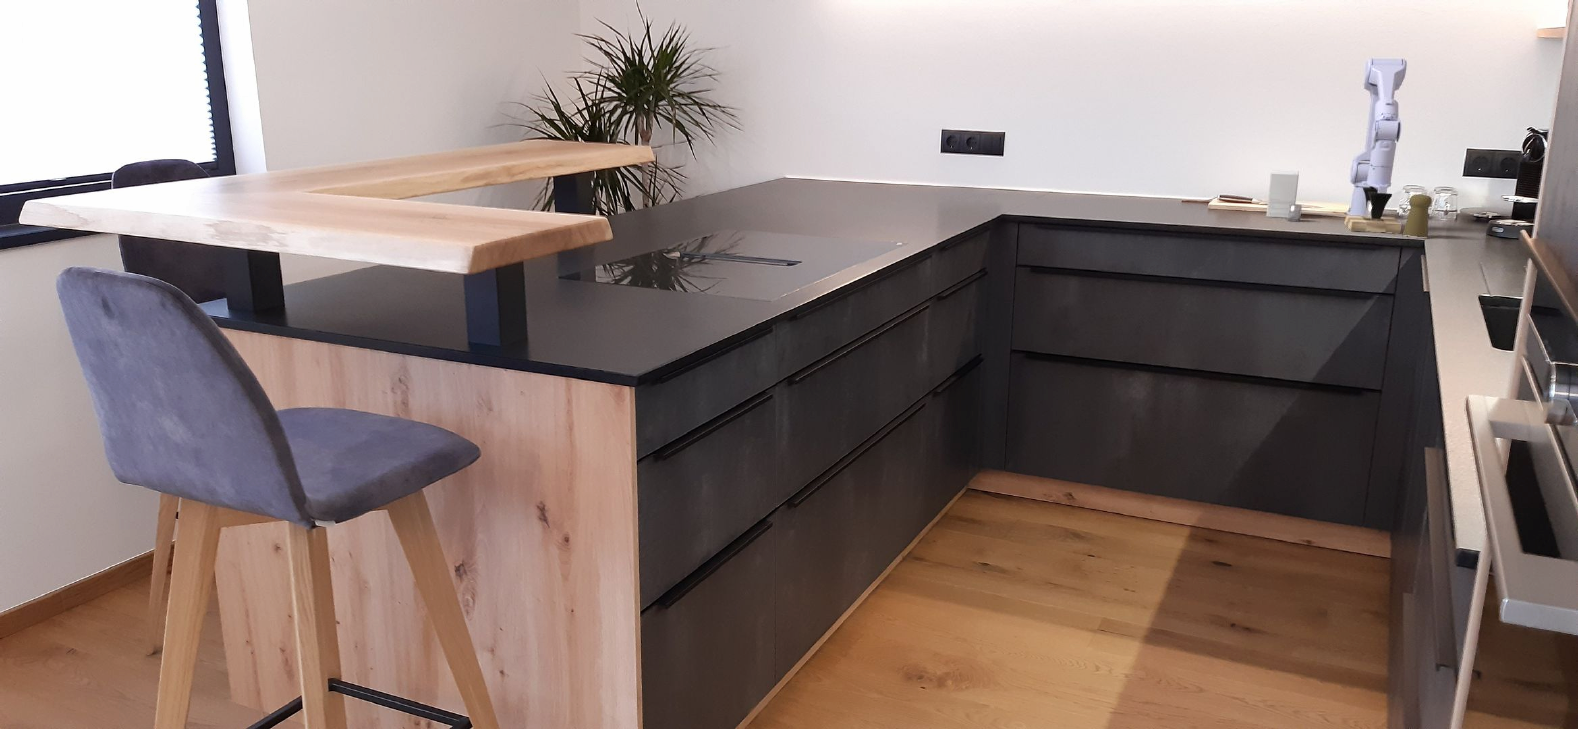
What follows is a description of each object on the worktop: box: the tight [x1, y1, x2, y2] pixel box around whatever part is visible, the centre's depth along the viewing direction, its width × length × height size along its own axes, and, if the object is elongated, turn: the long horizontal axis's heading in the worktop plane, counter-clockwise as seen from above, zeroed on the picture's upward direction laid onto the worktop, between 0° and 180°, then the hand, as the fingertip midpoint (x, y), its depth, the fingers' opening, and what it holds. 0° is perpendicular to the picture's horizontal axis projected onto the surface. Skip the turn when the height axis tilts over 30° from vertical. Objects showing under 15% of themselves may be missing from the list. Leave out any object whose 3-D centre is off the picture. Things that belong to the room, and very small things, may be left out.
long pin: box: [1365, 201, 1378, 221], centre depth 318 cm, size 3×3×8 cm
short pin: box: [1287, 203, 1303, 223], centre depth 330 cm, size 3×3×4 cm
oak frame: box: [1344, 214, 1402, 234], centre depth 318 cm, size 12×12×3 cm
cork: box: [1402, 193, 1433, 238], centre depth 306 cm, size 6×6×11 cm
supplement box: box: [1266, 169, 1300, 219], centre depth 337 cm, size 7×7×13 cm
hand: (1373, 216), depth 318 cm, fingers open, 7 cm apart
